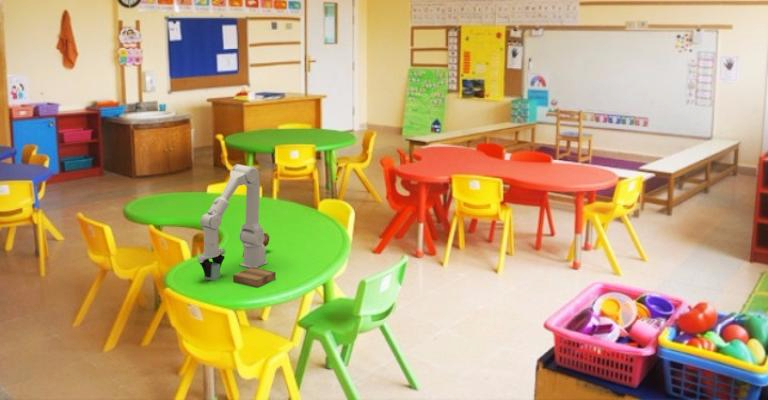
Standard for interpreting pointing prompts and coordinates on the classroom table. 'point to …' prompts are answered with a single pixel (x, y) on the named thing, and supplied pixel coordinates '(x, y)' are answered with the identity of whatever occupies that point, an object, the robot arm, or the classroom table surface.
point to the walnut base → (254, 277)
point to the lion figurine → (266, 241)
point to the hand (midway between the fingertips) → (212, 274)
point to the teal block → (214, 272)
